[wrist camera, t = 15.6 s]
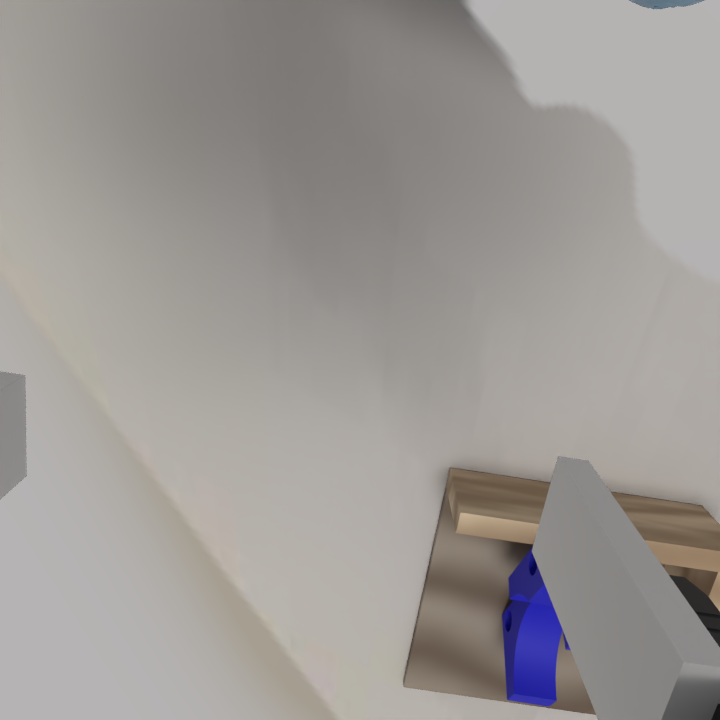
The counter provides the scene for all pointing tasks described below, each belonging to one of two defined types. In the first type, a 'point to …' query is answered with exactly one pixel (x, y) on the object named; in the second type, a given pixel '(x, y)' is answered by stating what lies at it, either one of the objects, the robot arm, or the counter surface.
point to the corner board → (498, 561)
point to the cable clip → (530, 637)
